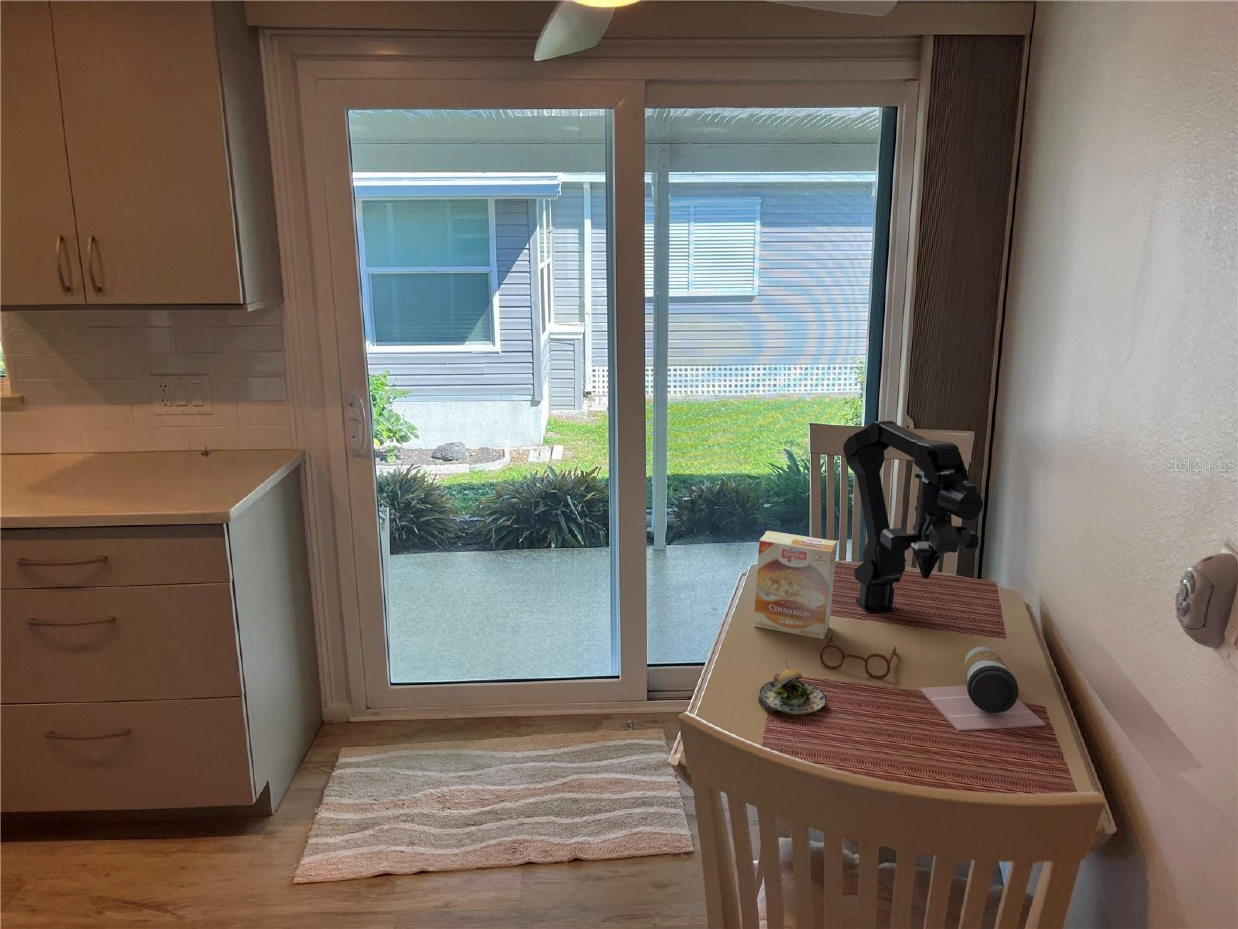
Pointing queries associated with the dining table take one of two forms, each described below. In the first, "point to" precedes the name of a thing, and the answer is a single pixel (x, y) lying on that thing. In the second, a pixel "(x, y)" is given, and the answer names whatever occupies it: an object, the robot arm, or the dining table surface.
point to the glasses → (856, 658)
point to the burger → (791, 695)
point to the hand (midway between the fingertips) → (925, 578)
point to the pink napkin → (977, 711)
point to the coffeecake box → (794, 584)
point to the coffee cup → (989, 681)
